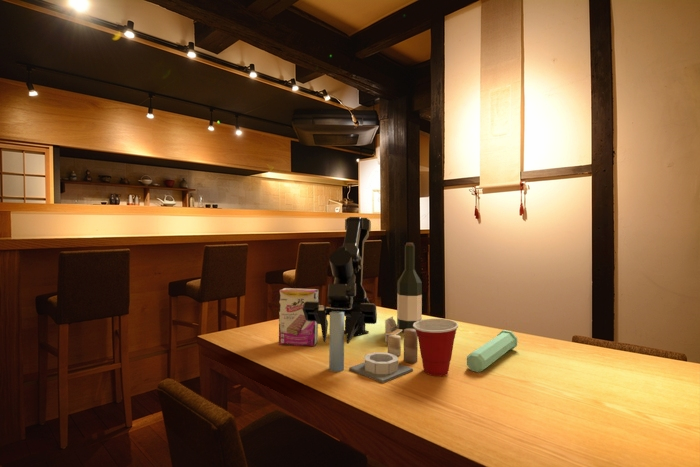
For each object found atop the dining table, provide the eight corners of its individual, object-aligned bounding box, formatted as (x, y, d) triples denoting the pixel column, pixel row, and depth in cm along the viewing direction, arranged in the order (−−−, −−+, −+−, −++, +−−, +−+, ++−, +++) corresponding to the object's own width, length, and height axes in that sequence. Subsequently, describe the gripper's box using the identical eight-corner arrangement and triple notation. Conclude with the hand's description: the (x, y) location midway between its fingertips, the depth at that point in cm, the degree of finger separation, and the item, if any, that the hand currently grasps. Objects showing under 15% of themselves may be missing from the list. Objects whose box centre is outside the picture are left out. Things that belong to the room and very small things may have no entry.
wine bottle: (395, 332, 128) (395, 243, 128) (399, 326, 136) (399, 242, 136) (420, 334, 126) (420, 243, 125) (422, 328, 134) (423, 242, 133)
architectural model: (402, 341, 120) (402, 317, 120) (394, 347, 114) (394, 322, 114) (392, 339, 122) (392, 316, 121) (383, 345, 115) (383, 320, 115)
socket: (379, 359, 101) (379, 347, 101) (412, 370, 93) (413, 358, 93) (349, 369, 94) (349, 357, 94) (382, 383, 86) (383, 369, 86)
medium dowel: (409, 357, 103) (409, 327, 103) (420, 360, 101) (420, 330, 100) (400, 360, 101) (401, 330, 101) (411, 363, 98) (412, 332, 98)
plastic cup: (404, 367, 96) (404, 319, 96) (441, 362, 100) (441, 316, 100) (427, 383, 86) (428, 330, 86) (467, 377, 90) (468, 326, 89)
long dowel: (337, 365, 97) (337, 310, 96) (346, 369, 94) (347, 312, 94) (326, 369, 94) (326, 312, 94) (335, 373, 92) (336, 314, 91)
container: (479, 349, 91) (513, 327, 110) (458, 354, 95) (494, 332, 114) (489, 374, 90) (521, 348, 109) (466, 378, 94) (501, 351, 113)
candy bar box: (278, 345, 113) (278, 290, 113) (282, 340, 118) (283, 287, 118) (315, 346, 112) (315, 291, 112) (318, 341, 117) (318, 288, 117)
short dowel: (393, 351, 108) (393, 334, 108) (403, 354, 105) (403, 336, 105) (384, 354, 105) (385, 336, 105) (394, 357, 103) (395, 339, 103)
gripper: (304, 270, 99) (291, 322, 88) (376, 271, 96) (372, 326, 86) (311, 295, 107) (300, 346, 96) (378, 297, 104) (374, 350, 93)
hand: (335, 342), depth 93 cm, fingers open, 5 cm apart
